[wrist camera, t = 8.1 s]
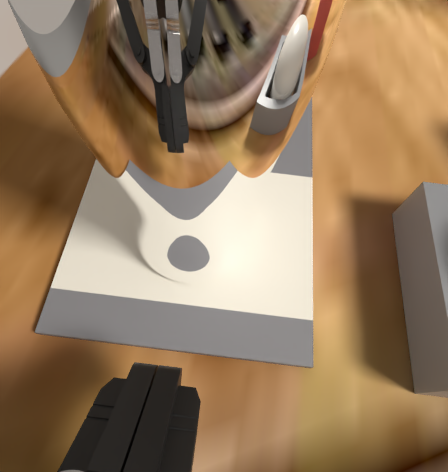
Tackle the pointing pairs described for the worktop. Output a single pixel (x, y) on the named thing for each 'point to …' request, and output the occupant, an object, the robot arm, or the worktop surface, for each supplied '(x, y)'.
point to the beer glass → (184, 108)
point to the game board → (194, 294)
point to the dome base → (425, 283)
